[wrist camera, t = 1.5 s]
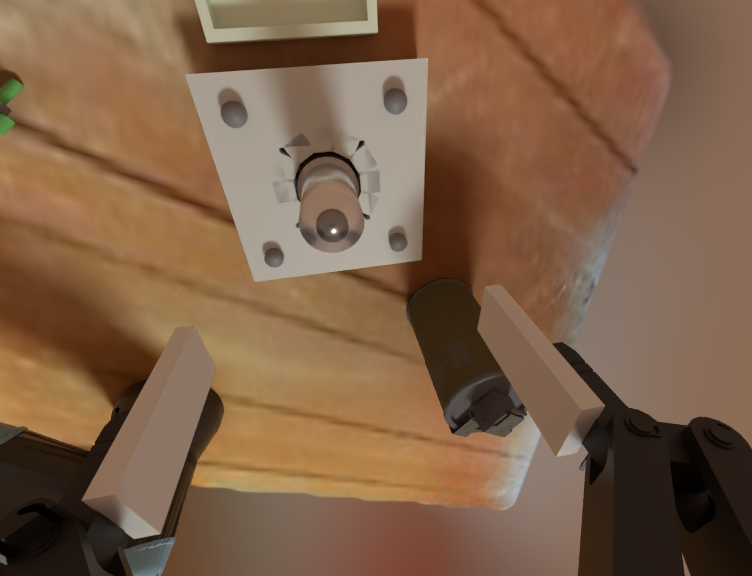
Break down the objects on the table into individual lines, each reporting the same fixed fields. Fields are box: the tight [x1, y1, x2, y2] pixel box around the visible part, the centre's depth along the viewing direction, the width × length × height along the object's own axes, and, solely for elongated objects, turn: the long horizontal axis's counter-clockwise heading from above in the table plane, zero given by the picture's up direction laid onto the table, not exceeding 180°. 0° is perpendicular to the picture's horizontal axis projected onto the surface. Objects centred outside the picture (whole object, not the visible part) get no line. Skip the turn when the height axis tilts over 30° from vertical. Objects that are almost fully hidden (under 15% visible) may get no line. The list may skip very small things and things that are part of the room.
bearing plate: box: [185, 58, 428, 282], centre depth 33 cm, size 20×20×4 cm
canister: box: [407, 279, 527, 437], centre depth 40 cm, size 11×10×20 cm
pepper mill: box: [297, 153, 364, 253], centre depth 29 cm, size 6×6×14 cm
